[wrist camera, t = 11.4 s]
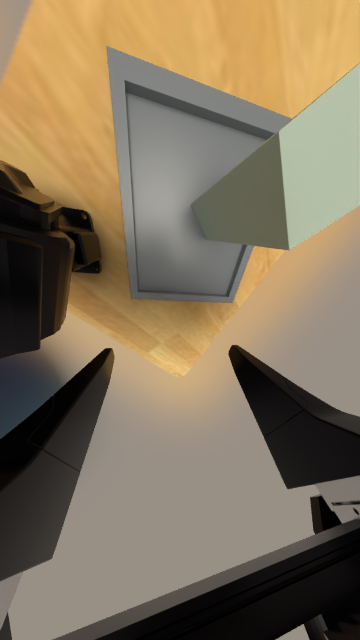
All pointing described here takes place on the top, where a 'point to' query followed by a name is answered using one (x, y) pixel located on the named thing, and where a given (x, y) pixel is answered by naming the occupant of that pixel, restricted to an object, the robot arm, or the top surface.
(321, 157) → the block
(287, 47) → the top surface
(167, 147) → the tray
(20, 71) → the top surface
